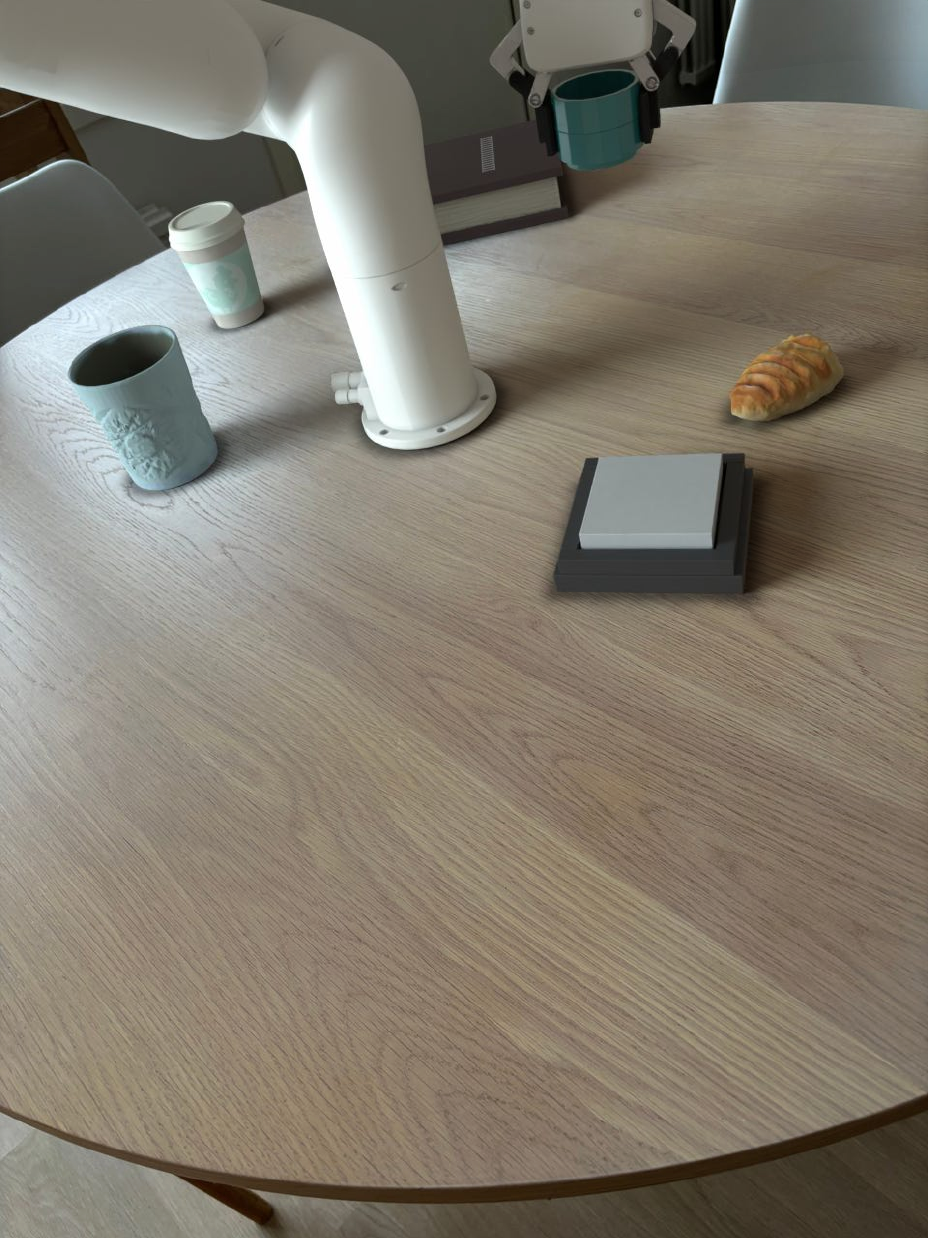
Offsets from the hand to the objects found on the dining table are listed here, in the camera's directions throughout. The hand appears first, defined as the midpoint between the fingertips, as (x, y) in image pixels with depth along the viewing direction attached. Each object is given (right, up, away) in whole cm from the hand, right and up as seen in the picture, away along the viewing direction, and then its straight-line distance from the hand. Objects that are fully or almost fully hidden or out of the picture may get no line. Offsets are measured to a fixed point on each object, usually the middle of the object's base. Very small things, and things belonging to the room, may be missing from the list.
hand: (600, 142), depth 85 cm
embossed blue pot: (-39, -25, +12) cm, 48 cm away
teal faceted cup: (0, -1, +1) cm, 1 cm away
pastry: (+15, -22, -1) cm, 26 cm away
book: (-13, +11, +42) cm, 45 cm away
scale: (+3, -34, -11) cm, 36 cm away
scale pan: (+2, -32, -12) cm, 35 cm away
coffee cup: (-38, -5, +33) cm, 50 cm away
